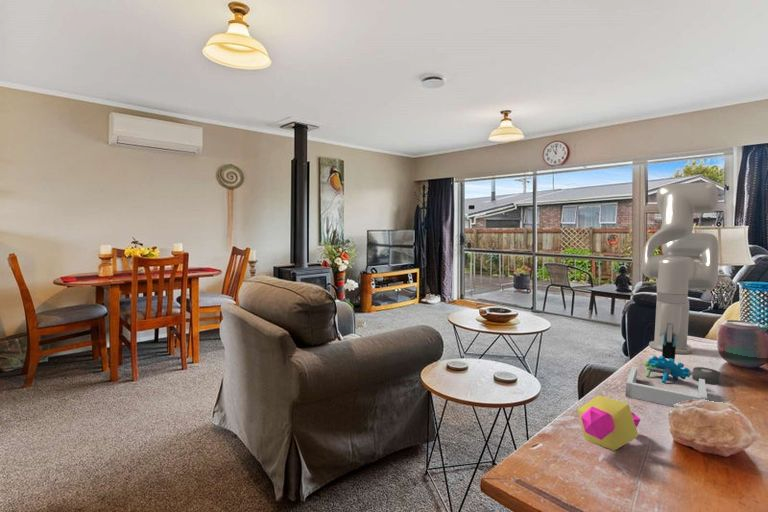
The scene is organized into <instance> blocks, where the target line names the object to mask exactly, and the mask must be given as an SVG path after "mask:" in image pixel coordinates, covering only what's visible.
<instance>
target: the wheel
mask: <svg viewBox="0 0 768 512" xmlns="http://www.w3.org/2000/svg"><path fill="white" fill-rule="evenodd" d="M699 379H705V385H714V386H715V385H720V382H721V381H720V379H721V372H720V371H718V370H716V369H712V368H708V367H701V366H700V367H699V366H698V367H696V366H695V367H693V368H692V380H693V381H696V382H698V383H699Z"/></svg>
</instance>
